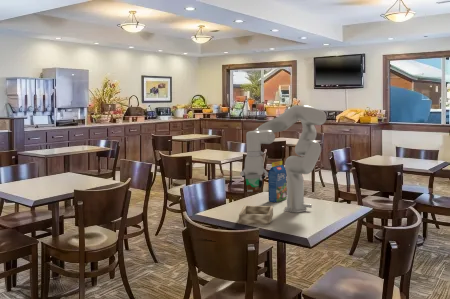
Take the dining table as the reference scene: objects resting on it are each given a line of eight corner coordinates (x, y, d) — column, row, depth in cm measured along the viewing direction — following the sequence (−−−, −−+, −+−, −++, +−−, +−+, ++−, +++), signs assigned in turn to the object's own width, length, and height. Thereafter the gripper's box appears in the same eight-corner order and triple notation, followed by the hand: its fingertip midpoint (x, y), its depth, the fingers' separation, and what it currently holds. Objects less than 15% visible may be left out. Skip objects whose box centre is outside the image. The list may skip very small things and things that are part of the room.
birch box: (273, 214, 242) (272, 206, 242) (269, 224, 223) (269, 215, 222) (244, 214, 245) (244, 205, 245) (239, 223, 226) (239, 214, 225)
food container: (256, 194, 227) (255, 175, 226) (246, 193, 230) (245, 174, 229) (266, 189, 238) (265, 171, 237) (256, 189, 241) (255, 171, 240)
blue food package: (268, 201, 276) (267, 162, 273) (278, 198, 285) (278, 160, 282) (276, 202, 272) (276, 163, 269) (286, 199, 281) (286, 160, 278)
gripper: (270, 153, 234) (271, 186, 236) (239, 153, 237) (240, 185, 239) (268, 155, 226) (269, 189, 228) (236, 155, 230) (237, 188, 232)
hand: (254, 187), depth 234 cm, fingers closed on food container, 5 cm apart
